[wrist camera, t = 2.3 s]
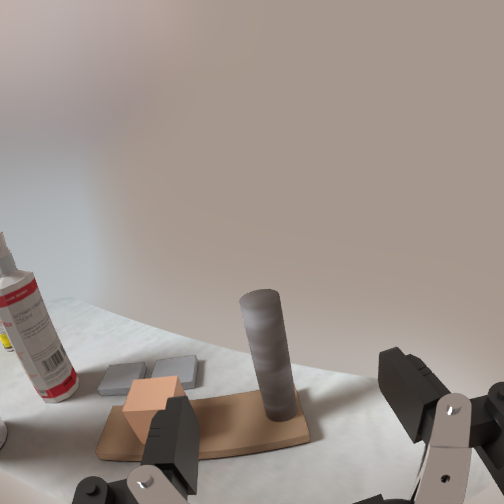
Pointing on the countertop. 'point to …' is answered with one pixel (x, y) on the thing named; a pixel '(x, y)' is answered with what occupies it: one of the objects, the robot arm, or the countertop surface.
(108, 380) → the broken strip
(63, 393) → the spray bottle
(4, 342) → the supplement bottle
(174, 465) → the robot arm
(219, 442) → the pull strip
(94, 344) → the countertop surface
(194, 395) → the countertop surface
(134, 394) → the terracotta block
